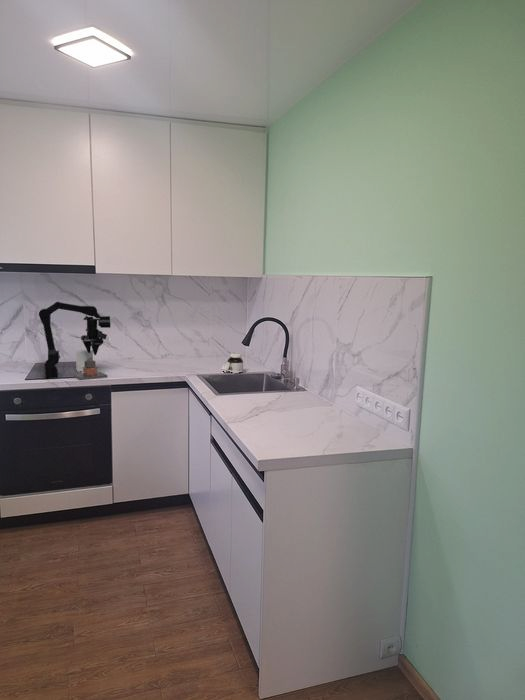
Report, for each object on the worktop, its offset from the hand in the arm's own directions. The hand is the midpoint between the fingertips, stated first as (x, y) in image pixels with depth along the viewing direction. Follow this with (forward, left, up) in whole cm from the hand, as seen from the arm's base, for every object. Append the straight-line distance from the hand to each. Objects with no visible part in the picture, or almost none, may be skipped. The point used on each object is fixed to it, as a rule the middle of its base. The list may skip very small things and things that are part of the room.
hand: (92, 353), depth 283 cm
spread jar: (+77, -34, -13) cm, 86 cm away
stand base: (-3, -3, -13) cm, 14 cm away
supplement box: (+1, +17, -13) cm, 21 cm away
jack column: (-3, -3, -11) cm, 12 cm away
